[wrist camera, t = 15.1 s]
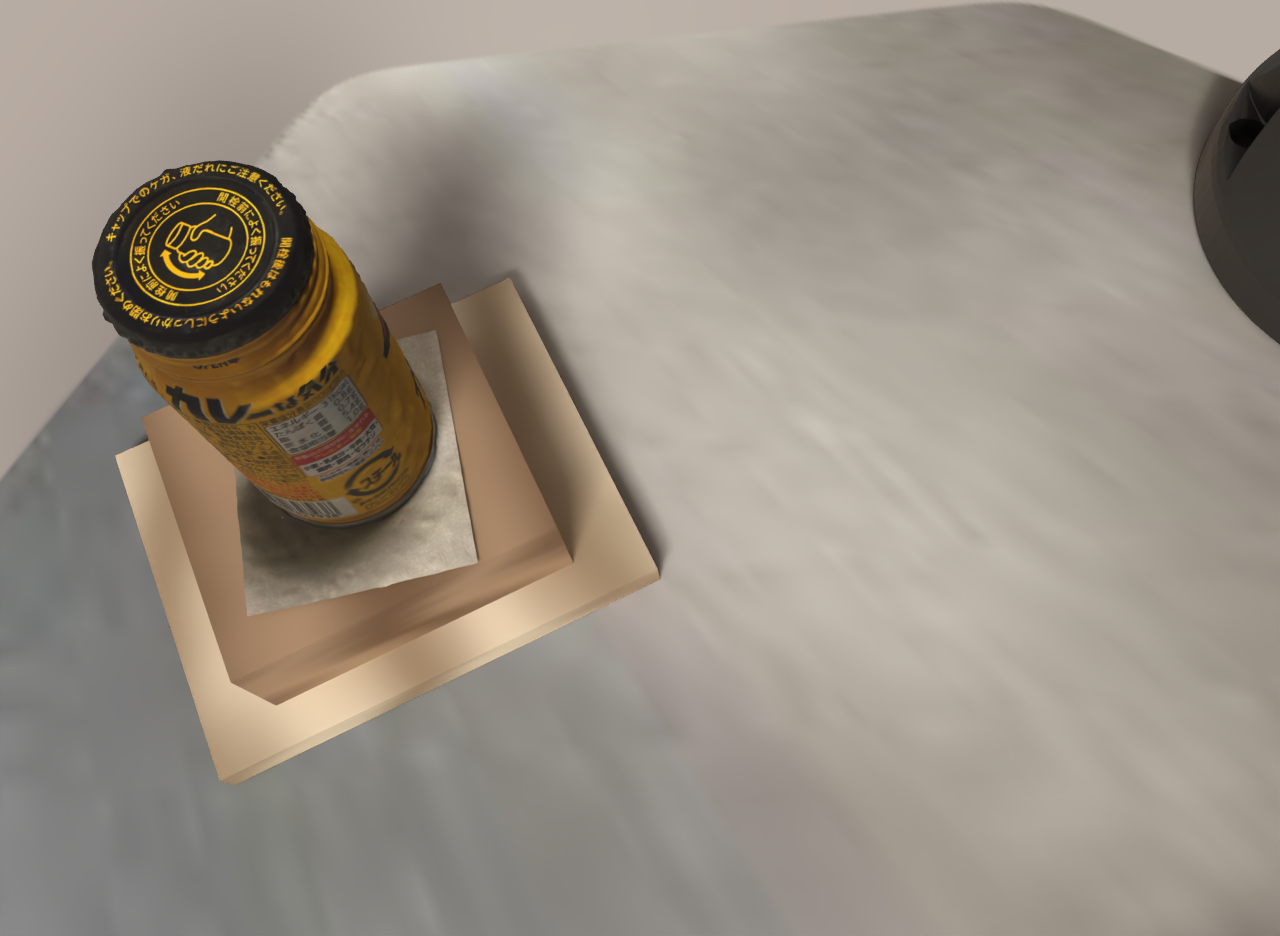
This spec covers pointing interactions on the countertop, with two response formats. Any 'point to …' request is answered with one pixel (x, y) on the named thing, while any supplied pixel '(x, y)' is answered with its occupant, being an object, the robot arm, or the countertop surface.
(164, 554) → the base board
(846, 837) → the countertop surface
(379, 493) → the condiment
